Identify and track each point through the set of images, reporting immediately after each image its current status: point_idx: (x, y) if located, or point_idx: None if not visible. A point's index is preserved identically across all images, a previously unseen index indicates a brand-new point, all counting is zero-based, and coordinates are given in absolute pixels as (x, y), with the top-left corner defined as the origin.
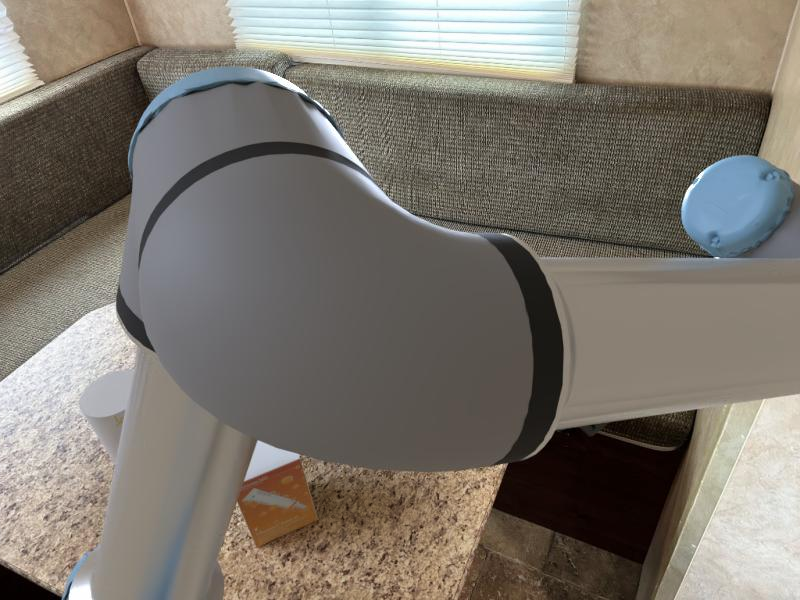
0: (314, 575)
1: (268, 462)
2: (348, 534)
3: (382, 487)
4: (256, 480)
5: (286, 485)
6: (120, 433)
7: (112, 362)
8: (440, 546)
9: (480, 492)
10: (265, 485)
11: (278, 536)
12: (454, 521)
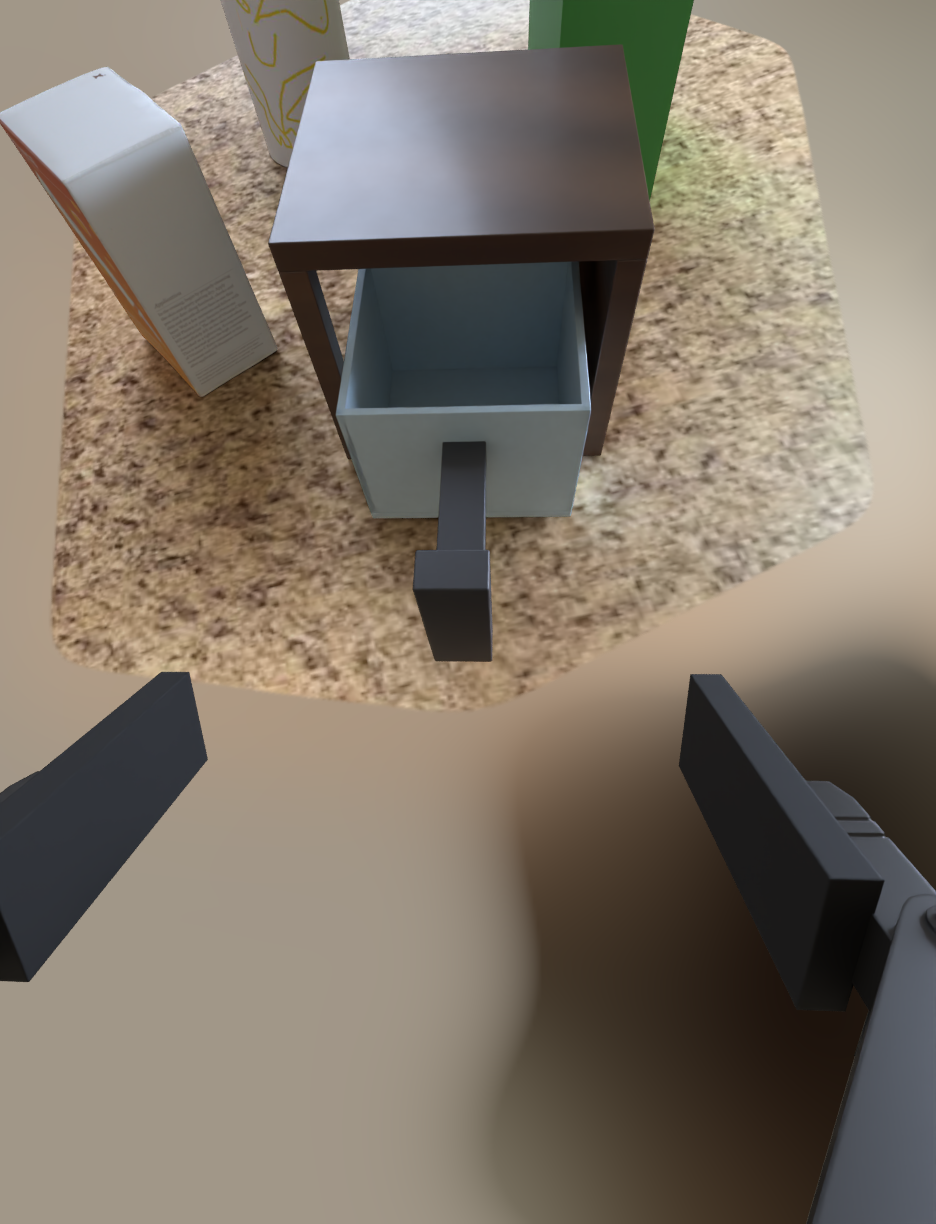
0: (94, 429)
1: (51, 139)
2: (175, 452)
3: (285, 476)
4: (22, 149)
5: (90, 238)
6: (229, 22)
7: (482, 36)
8: (152, 618)
9: (295, 674)
10: (49, 187)
11: (160, 353)
12: (213, 633)
